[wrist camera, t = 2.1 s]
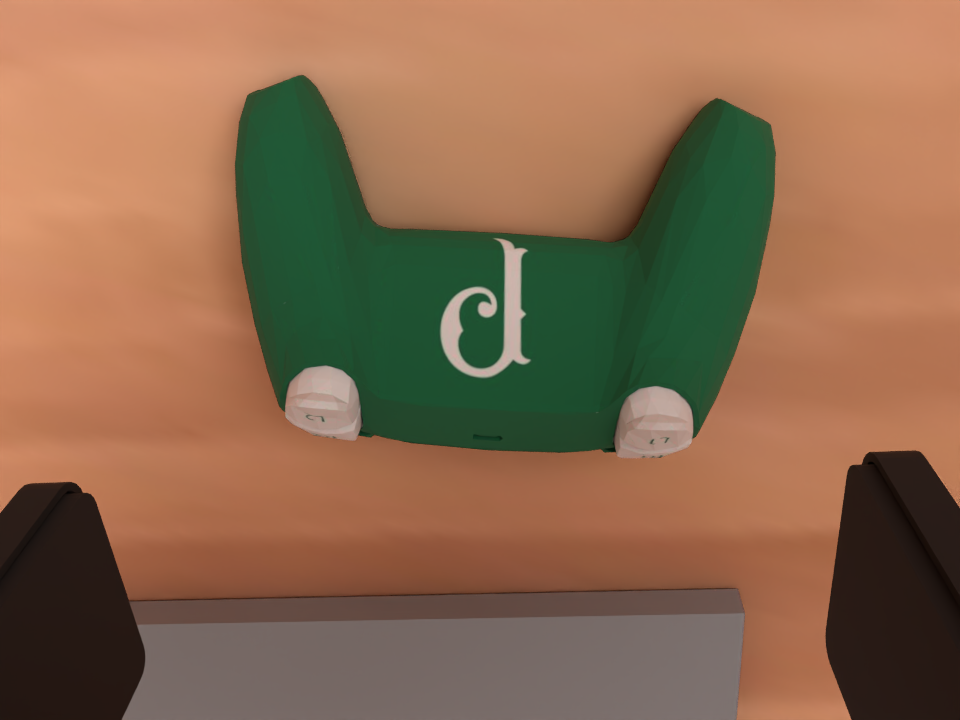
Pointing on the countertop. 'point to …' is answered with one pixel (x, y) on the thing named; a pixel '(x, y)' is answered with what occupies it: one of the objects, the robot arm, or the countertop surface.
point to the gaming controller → (498, 297)
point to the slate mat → (443, 657)
